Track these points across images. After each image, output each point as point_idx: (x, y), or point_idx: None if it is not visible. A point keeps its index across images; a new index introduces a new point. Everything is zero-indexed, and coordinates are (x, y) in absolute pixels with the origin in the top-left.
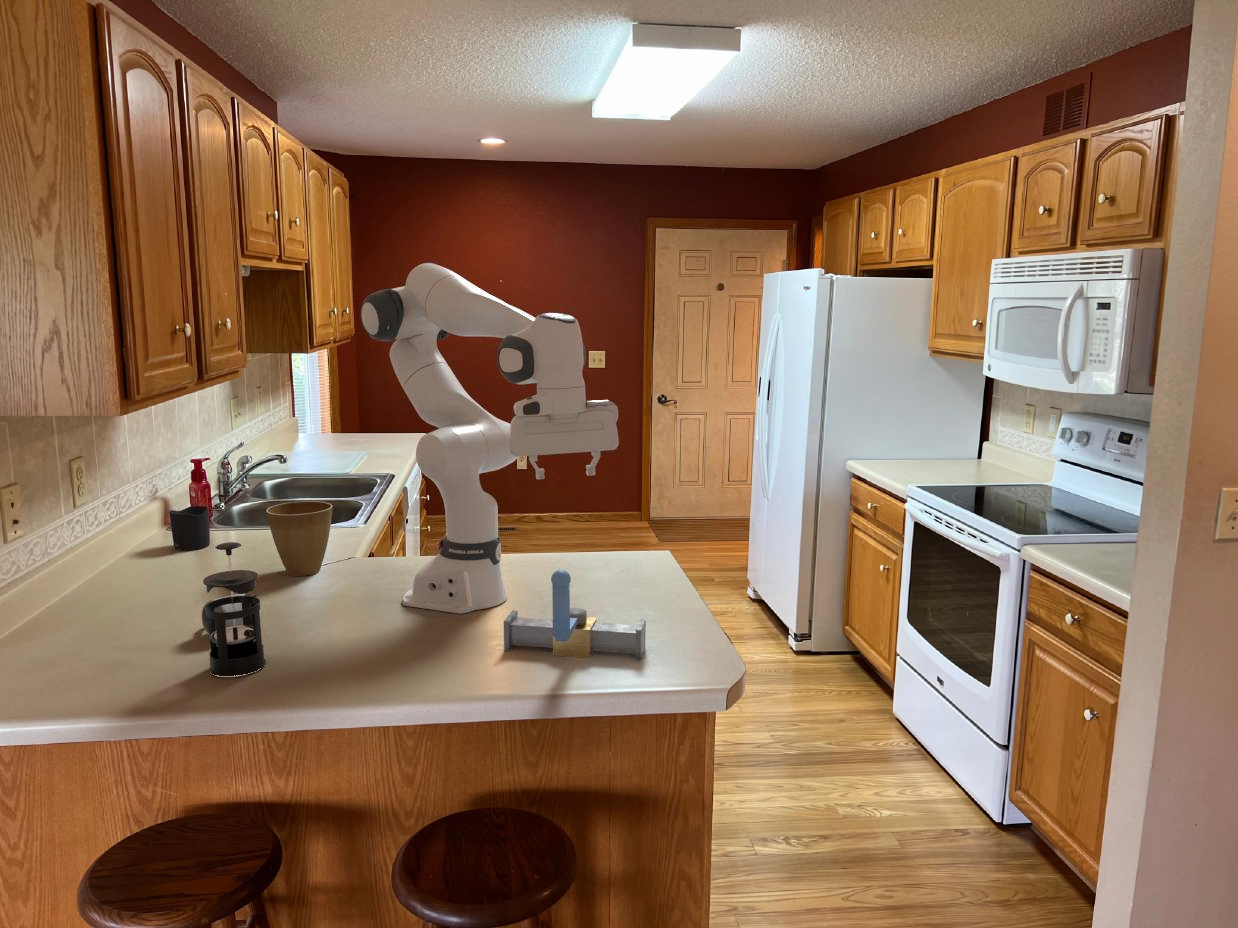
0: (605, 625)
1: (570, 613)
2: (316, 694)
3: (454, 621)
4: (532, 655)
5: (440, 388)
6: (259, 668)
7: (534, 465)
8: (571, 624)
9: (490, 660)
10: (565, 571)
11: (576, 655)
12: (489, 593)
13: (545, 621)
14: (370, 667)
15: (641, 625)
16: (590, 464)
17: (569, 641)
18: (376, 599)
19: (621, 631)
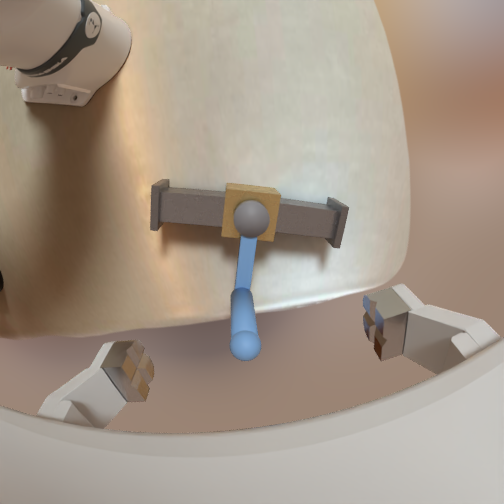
0: (293, 213)
1: (245, 227)
2: (53, 318)
3: (81, 131)
4: (197, 226)
5: None
6: (2, 280)
7: (101, 420)
8: (250, 262)
9: (152, 244)
10: (254, 355)
11: None
12: (105, 67)
13: (205, 204)
14: (56, 269)
15: (341, 232)
16: (409, 319)
17: None
18: (4, 93)
19: (314, 234)
